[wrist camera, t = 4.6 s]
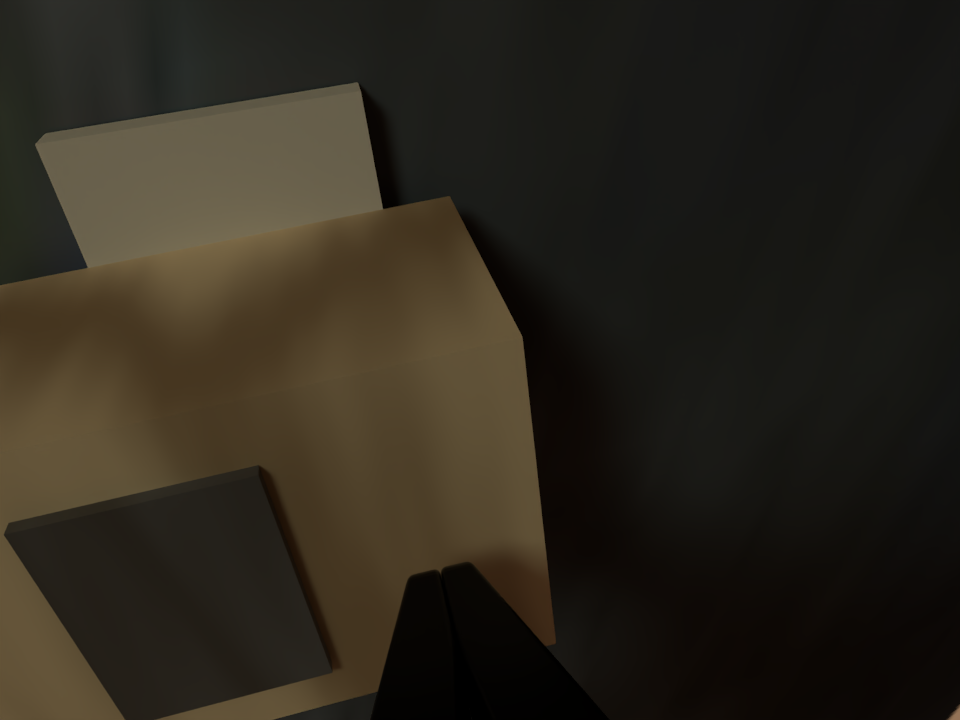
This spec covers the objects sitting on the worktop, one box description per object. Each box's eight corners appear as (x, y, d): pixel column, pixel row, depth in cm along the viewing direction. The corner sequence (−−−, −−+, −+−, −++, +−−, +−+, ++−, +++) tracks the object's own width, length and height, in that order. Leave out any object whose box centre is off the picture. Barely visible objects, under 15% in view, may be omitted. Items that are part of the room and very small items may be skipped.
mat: (357, 82, 13) (361, 90, 12) (439, 515, 18) (443, 533, 18) (45, 133, 12) (34, 144, 12) (226, 564, 18) (224, 585, 17)
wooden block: (526, 345, 9) (-282, 525, 8) (559, 653, 13) (-16, 809, 12) (449, 196, 14) (-90, 302, 13) (489, 454, 17) (64, 556, 16)
